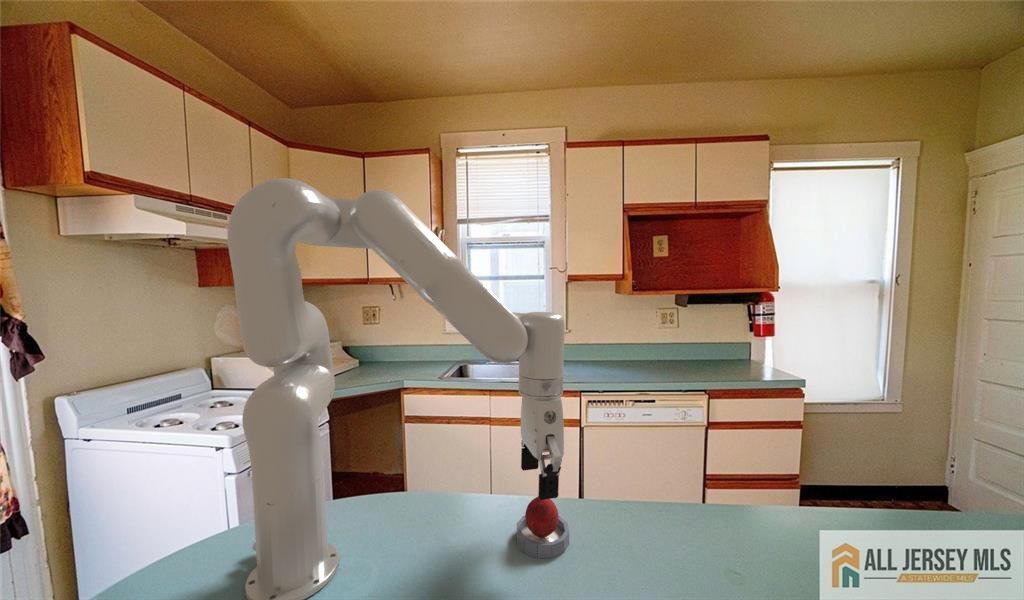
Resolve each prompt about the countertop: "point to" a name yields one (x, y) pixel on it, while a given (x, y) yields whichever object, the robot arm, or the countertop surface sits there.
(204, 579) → the countertop surface
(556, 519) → the onion
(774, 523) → the countertop surface
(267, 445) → the robot arm
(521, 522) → the gray dish
